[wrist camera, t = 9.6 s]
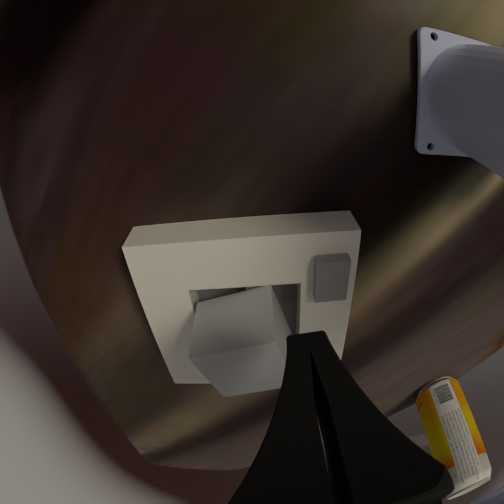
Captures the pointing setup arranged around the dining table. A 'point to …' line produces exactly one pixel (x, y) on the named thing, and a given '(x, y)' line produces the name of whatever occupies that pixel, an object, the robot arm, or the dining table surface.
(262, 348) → the plug
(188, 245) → the socket
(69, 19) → the dining table surface
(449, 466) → the yellow supplement bottle
